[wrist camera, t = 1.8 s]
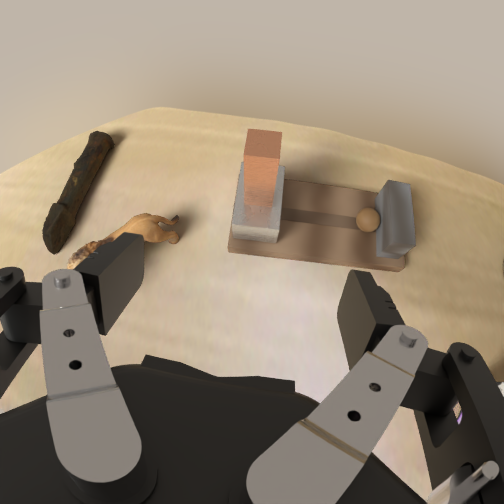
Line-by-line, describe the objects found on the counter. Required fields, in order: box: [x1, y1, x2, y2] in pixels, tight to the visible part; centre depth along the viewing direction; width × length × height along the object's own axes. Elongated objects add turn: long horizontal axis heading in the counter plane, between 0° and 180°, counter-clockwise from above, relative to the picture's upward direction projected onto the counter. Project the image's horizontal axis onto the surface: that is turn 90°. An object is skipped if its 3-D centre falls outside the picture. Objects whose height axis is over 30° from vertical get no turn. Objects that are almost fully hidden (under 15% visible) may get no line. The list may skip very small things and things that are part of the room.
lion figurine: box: [67, 213, 179, 270], centre depth 35 cm, size 15×5×9 cm, turn 136°
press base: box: [228, 174, 416, 272], centre depth 38 cm, size 22×10×7 cm, turn 83°
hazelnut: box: [356, 208, 380, 232], centre depth 38 cm, size 3×3×3 cm
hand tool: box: [42, 131, 115, 255], centre depth 40 cm, size 19×4×5 cm, turn 164°
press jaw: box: [232, 129, 285, 243], centre depth 33 cm, size 5×8×13 cm, turn 173°
